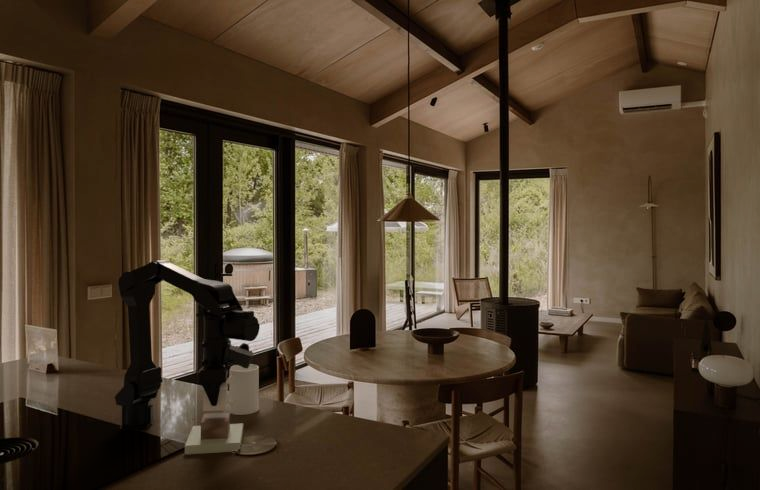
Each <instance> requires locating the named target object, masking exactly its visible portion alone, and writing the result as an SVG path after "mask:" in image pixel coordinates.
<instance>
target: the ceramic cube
mask: <svg viewBox="0 0 760 490" xmlns="http://www.w3.org/2000/svg"><path fill="white" fill-rule="evenodd" d="M202 393H203V394H202V397H203V399H202V400H203V401H202V402H203V403H202V411H203V412H214V411H215V412H216V411H226V409H227V406H228V403H227V399H228V397H229V383H226V382H224V383H223V384H221V387H220V392H219V397H218V402H217V405H216V406H212V405H211V403H210V401H209V399H208V397H207V394H206V392H205V390H204V389H203V392H202Z"/></svg>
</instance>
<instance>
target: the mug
mask: <svg viewBox="0 0 760 490" xmlns="http://www.w3.org/2000/svg"><path fill="white" fill-rule="evenodd" d="M230 366H231V365H230ZM259 368H260V367H259V365H257V364H253V363H250V365H249V367H248V368H243V367H242V366H239V365H236V364H233V365H232V366H231V368H230V370H229V371H228V377H227V380H226V382H225V383H228V398H227V405H228V408H227V412H230V415H236V416H245V415H251V414H255V413H256V412H258V411H259V410H260V404H259V397H260V395H259V391H260V390H259V388H260V386H259V384H260V381H259V379H260V377H259V376H260V375H259V374H260V369H259Z"/></svg>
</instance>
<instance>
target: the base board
mask: <svg viewBox="0 0 760 490" xmlns="http://www.w3.org/2000/svg"><path fill="white" fill-rule="evenodd" d="M243 433H244V423H243V422H242V423H230V430H229V434H228V438H222V439H204V440H201V425H193V426H192V428H191V430H190V433H189V435H188V437H187V440H186V442H185V444H184V455H197V454H198V455H199V454H201V455H202V454H212V453H213V454H215V453H217V454H218V453H231V452H232V450H236V449H240V450H241V447H240V445H241V446H242V439H243ZM232 453H233V452H232Z"/></svg>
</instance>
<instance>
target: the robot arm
mask: <svg viewBox="0 0 760 490" xmlns="http://www.w3.org/2000/svg"><path fill="white" fill-rule="evenodd" d="M163 281H164V282H166V283H167V284H170V285H171V286H174V287H175V288H177V289H179V290H182V291H184V292H185V293H187V294H189V295H190V296H192V297H193V299H194V301H195V302H196V303H197V304H198V305H200V306H201V307H202V308H201V309H200V310H199V311H198V312H197V313H196V314H195V315H196V317H197V318H203V341H202V344H201V348H202V349H203V357H202V361H201V365H202V367H201V368H200V369H199V370H198V372H197V374H196V383H197V384H201V387H202V388H203V390H205V392H206V394H207V397H208V399H209V401H210V403H211V405H212V406H216V405H217V402H218V397H219V392H220V387H221V384H223V383H226V381H227V380H228V378H229V375H228V373H229V370H230V368H231V365H232V364H233V365H239V366H242V367H243V368H248V367H249V365H250V364H251V362H252V360H253V356H254V352H253V350H250V345H249V344H247V343H245V342H242V343H241V344H240V345H239V346H237V345H236V346H234V345H232V340H238V341H246V342H254V340H256V339H257V337H258V335H259V332H260V323H259V320H258V318H257V317H256V316H255V311H253V310H244V309H243V307H242V305H241V304H240V302H239V300H238V298H237V296H236V295H235V293H234V290H233V287H232V285H230V284H229V283H226V282H223V281H220V280H213V279H205V278H202V276H201V277H200V276H199V275H197V274H194V273H193V272H190V271H188V270H186V269H184V268H182V267H180V266H178V265H176V264H174V263H172V262H171V261H170V260H167V259H160V260H157V259H156V260H152V261H150V262H149V263H147V264H145V265H142V266H139V267H137V268H134V269H132V270H130V271H129V270H128V271H124V272H123V273H122V274H121V276H119V278H118V289H119V294H120V297H121V299H122V300H123V302H124V304H125V305H126V306H127V315H128V317H127V318H128V335H129V340H128V341H129V356H130V357H129V358H130V359H129V361H130V364H129V366H128V368H127V370H126V372H125V374H124V379H123V387H122V388H120V390H119V391H118V392H117V394H115V396H114V400H115V404H116V406H121V425H120V427H119V430H120V431H129V430H146V429H148V427H149V426H150V425H151V424H152V422H153V421H154V405H153V404H152V399H156V398H157V395H158V392H159V390H160V389H161V386H162V383H163V378H162V370H163V369H162V368H161V366H157V365H156V364H155V363H154V361H153V357H152V356H153V355H152V354H153V353H152V352H153V351H152V337H151V336H152V335H151V319H150V318H151V317H150V316H151V315H150V314H151V313H150V304H151V302H152V300H153V298H154V296H155V294H156V286H157V285H158V284H160V283H161V282H163ZM231 339H232V340H231Z"/></svg>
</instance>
